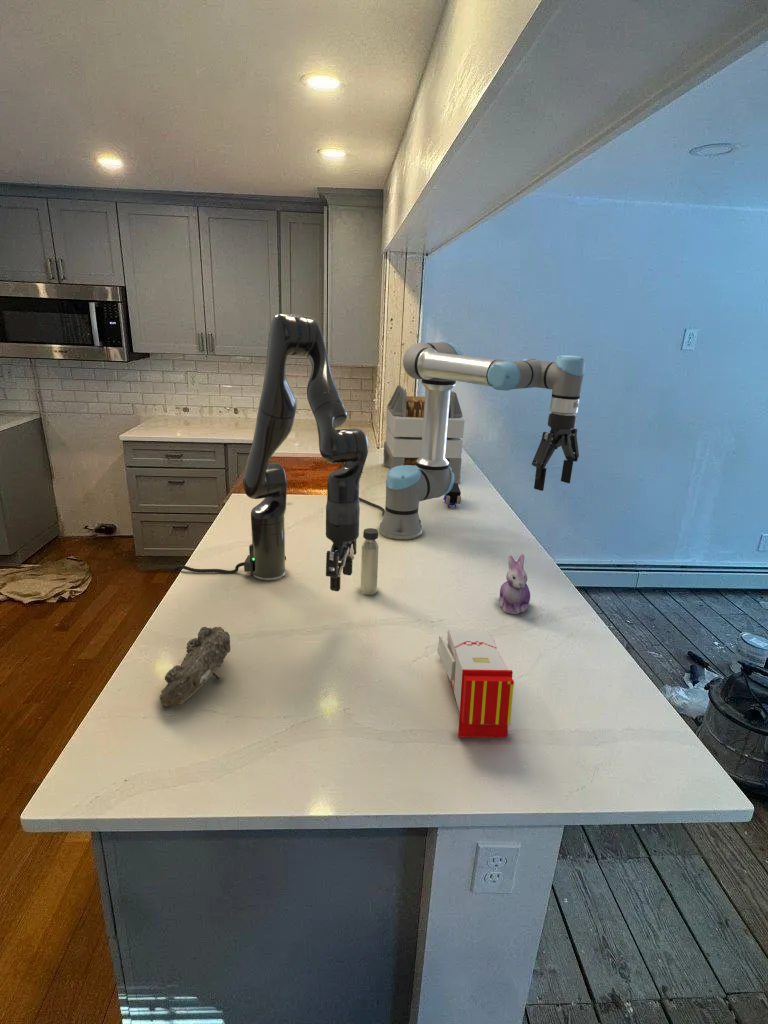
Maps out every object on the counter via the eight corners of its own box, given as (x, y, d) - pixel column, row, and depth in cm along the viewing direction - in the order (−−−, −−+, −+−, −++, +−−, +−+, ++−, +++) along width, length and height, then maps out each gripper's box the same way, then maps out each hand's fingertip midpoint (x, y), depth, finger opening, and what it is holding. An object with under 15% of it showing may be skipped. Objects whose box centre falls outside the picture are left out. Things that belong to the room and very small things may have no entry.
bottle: (364, 596, 156) (366, 536, 150) (357, 589, 160) (359, 530, 154) (379, 593, 158) (382, 534, 152) (372, 586, 162) (374, 528, 155)
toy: (488, 613, 130) (523, 677, 101) (484, 667, 133) (517, 744, 104) (435, 612, 130) (455, 676, 101) (432, 666, 133) (451, 743, 103)
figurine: (512, 619, 147) (519, 566, 142) (488, 601, 156) (494, 551, 151) (540, 611, 151) (548, 560, 146) (515, 594, 160) (522, 546, 155)
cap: (366, 541, 151) (367, 534, 150) (360, 535, 154) (360, 529, 153) (380, 538, 152) (380, 532, 152) (374, 533, 156) (374, 527, 155)
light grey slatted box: (382, 463, 289) (386, 382, 275) (445, 464, 293) (451, 384, 279) (390, 482, 257) (394, 392, 243) (460, 483, 261) (468, 394, 247)
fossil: (184, 629, 128) (231, 598, 123) (214, 657, 131) (261, 628, 126) (138, 700, 109) (191, 667, 104) (173, 731, 112) (227, 701, 107)
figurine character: (461, 513, 227) (456, 497, 240) (463, 496, 223) (458, 481, 237) (444, 512, 226) (440, 496, 240) (446, 495, 223) (442, 480, 237)
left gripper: (337, 505, 135) (336, 567, 140) (315, 525, 122) (314, 593, 127) (367, 509, 133) (365, 572, 138) (348, 530, 120) (346, 598, 125)
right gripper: (548, 419, 148) (537, 496, 155) (598, 411, 163) (586, 482, 171) (525, 414, 153) (515, 489, 160) (575, 407, 169) (564, 476, 176)
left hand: (341, 582), depth 133 cm, fingers open, 8 cm apart
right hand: (552, 485), depth 166 cm, fingers open, 13 cm apart
